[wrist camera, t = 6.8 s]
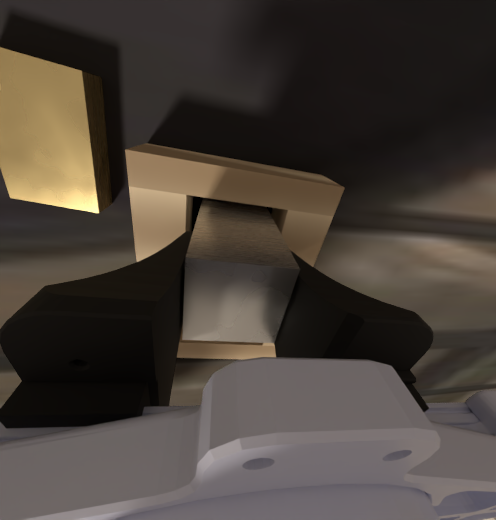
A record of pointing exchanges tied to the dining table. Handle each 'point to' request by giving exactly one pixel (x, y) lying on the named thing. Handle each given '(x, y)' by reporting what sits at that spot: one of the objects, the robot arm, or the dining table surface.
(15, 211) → the dining table surface
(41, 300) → the robot arm
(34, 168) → the tan rectangular block
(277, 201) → the socket block
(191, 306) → the square bit
